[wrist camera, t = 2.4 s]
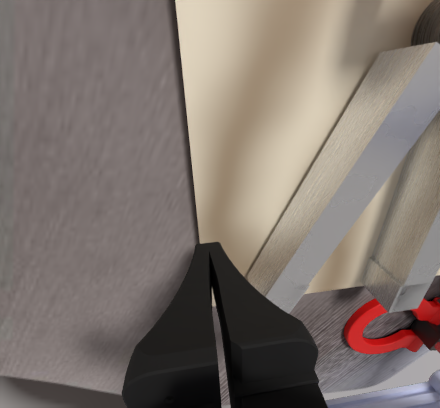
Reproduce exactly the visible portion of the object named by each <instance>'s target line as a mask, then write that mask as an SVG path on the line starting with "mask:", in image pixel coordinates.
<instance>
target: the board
mask: <svg viewBox="0 0 440 408" xmlns="http://www.w3.org/2000/svg"><path fill="white" fill-rule="evenodd" d="M432 1H434V0H175V2H176V12H177V22H178V32H179V42H180V52H181V62H182V71H183V81H184V91H185V101H186V111H187V121H188V131H189V141H190V150H191V160H192V170H193V180H194V190H195V200H196V210H197V220H198V229H199V239H200V244H202V243H211V242H219V243H221V246H222V248H223V250H224V251H225V253H226V254H227V256H228V257H229V259H230V260H231V262H232V263H233V264H234V266H235V267H236V268H237V269H238V271H239V272H240V273H241V274H242V275H243V276H244V278H245V279H246V280H247V281H248V278H247V276H248V274H249V272H250V271H251V269H252V267H253V266H254V264H255V262H256V261H257V259H258V257H259V256H260V254H261V252H262V250H263V249H264V247H265V245H266V244H267V242H268V240H269V239H270V237H271V235H272V234H273V232H274V230H275V229H276V227H277V225H278V223H279V222H280V220H281V218H282V217H283V215H284V213H285V212H286V210H287V208H288V207H289V205H290V203H291V202H292V200H293V198H294V196H295V195H296V193H297V191H298V190H299V188H300V186H301V185H302V183H303V181H304V180H305V178H306V176H307V175H308V173H309V171H310V170H311V168H312V166H313V164H314V163H315V161H316V159H317V158H318V156H319V154H320V153H321V151H322V149H323V148H324V146H325V144H326V143H327V141H328V139H329V137H330V136H331V134H332V132H333V131H334V129H335V127H336V126H337V124H338V122H339V121H340V119H341V117H342V116H343V114H344V112H345V111H346V109H347V107H348V105H349V104H350V102H351V100H352V99H353V97H354V95H355V94H356V92H357V90H358V89H359V87H360V85H361V84H362V82H363V80H364V78H365V77H366V75H367V73H368V72H369V70H370V68H371V67H372V65H373V63H374V62H375V60H376V58H377V57H378V55H379V53H380V52H384V51H390V50H395V49H400V48H406V47H411V38H412V34H413V30H414V27H415V25H416V23H417V21H418V19H419V17H420V16H421V14H422V13H423V11H424V10H425V9H426V7H427V6H428V5H429V4H430V3H431V2H432ZM407 154H408V153H407ZM407 154H406V155H405V157H404V158H403V159H402V161H401V162H400V163H399V165H398V166H397V167H396V169H395V170H394V171H393V173H392V174H391V175H390V177H389V178H388V179H387V181H386V182H385V183H384V185H383V186H382V187H381V189H380V190H379V191H378V193H377V194H376V195H375V197H374V198H373V199H372V201H371V202H370V203H369V205H368V206H367V207H366V209H365V210H364V211H363V213H362V214H361V215H360V217H359V218H358V219H357V221H356V222H355V223H354V225H353V226H352V227H351V229H350V230H349V231H348V233H347V234H346V235H345V237H344V238H343V239H342V241H341V242H340V243H339V245H338V246H337V247H336V249H335V250H334V251H333V253H332V254H331V255H330V257H329V258H328V259H327V261H326V262H325V263H324V265H323V266H322V267H321V269H320V270H319V271H318V273H317V274H316V275H315V277H314V278H313V279H312V281H311V282H310V283H309V285H310V287H309V288H308V289H307V291H306V292H305V293H304V294H308V293H315V292H322V291H329V290H336V289H344V288H351V287H358V286H364V285H363V284H362V283H361V279H362V276H363V273H364V270H365V268H366V265H367V262H368V259H369V257H372V254H373V251H374V248H375V245H376V243H377V240H378V237H379V234H380V231H381V228H382V225H383V222H384V220H385V217H386V214H387V211H388V208H389V205H390V202H391V199H392V197H393V194H394V191H395V188H396V185H397V182H398V179H399V176H400V174H401V171H402V168H403V165H404V162H405V159H406V156H407ZM437 275H440V268H439V270H438V272H437V274H436V276H437ZM248 282H249V281H248ZM214 306H216V303H215V299H214V294H213V289H212V307H214Z"/></svg>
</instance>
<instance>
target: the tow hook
mask: <svg viewBox="0 0 440 408" xmlns="http://www.w3.org/2000/svg"><path fill="white" fill-rule="evenodd" d="M411 310H412V311H413V315H414V316H415V317H416V318H417V319H416V320H415V321H414V323H413V324H412V325H411V329H410V330H400V331H399V332H397V333H395V334H393V335H391V336H388V337H385V338H380V339H367V338H364V337H362V334H363V330H364V328H365V327H366V326H367V325H368V323H369V322H370V321H372V320H373V319H374V318H376V317H378V316H379V315H381V314H383V313H386V312H387V311H386V310H385V309H384V307H383V306H382V305H381V304H380V303H379V302H378V301H377V300H376V299H373V300H371V301H370V302H368V303H366V304H364V305H363V306H362V307H361V308H359V309H358V310H357V311H356V312H355V313H354V314H353V315H352V316H351V317H350V318H349V320H348V322H347V323H346V325H345V328H344V336H345V339H346V341H347V342H348V344H349V346H350V347H351V348H352V349H354V350H356V351H358V352H360V353H366V354H380V353H386V352H390V351H393V350H396V349H399V348H407V349H408V350H410V351H412V352H417V351H418V350H419V348H420V347H421V346H422V345H423V344H425V345H426V346H427V348H428V349H429V350H437V351H438V352H439V353H440V298H438V297H435V298H434V299H433V300H432V301H427V300H426V299H425V298H423V300H422V301H421V303H420V305H419V307H418V309H411Z"/></svg>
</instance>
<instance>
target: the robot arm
mask: <svg viewBox="0 0 440 408" xmlns="http://www.w3.org/2000/svg"><path fill="white" fill-rule="evenodd" d="M212 289H213V294H214V299H215V303H216V308H217V312H218V317H219V321H220V327H221V333H222V340H223V348H224V356H225V364H226V372H227V380H228V388H229V396H230V405H231V408H440V370H437V371H436V372H434V373H433V374H432V375H431V376H430V378H429V381H428V382H423V383H417V384H412V385H407V386H402V387H396V388H391V389H385V390H380V391H375V392H369V393H364V394H358V395H353V396H347V397H342V398H337V399H332V400H326V401H325V400H324V397H323V395H322V393H321V391H320V388H319V386H318V383H319V380H318V377H317V375H316V373H315V371H314V368H315V364H316V361H317V357H318V348H317V346H316V344H315V342H314V340H313V338H312V336H311V335H310V333H309V332H308V330H307V329H306V327H305V326H304V324H303V323H302V321H300V320H298V319H297V318H295V317H293V316H292V315H290V314H288V313H287V312H285V311H283V310H282V309H281V308H279V307H278V306H276V305H275V304H274V303H272V302H271V301H270V300H269V299H267V298H266V297H265V296H264V295H262V294H261V293H260V292H259V291H258V290H257V289H255V288H254V287H253V286H252V285H251V284H250V283H249V282H248V281H247V280H246V279H245V278H244V276H243V275H242V274H241V273H240V272H239V271H238V269H237V268H236V267H235V266H234V264H233V263H232V262H231V260H230V259H229V257H228V256H227V254H226V253H225V251H224V250H223V248H222V246H221V243H219V242H211V243H202V244H197V245H196V246H195V252H194V256H193V259H192V262H191V265H190V267H189V270H188V272H187V274H186V277H185V279H184V281H183V283H182V285H181V287H180V289H179V291H178V292H177V294H176V296H175V297H174V299H173V301H172V302H171V304H170V305H169V307H168V308H167V310H166V311H165V312H164V314H163V315H162V316H161V318H160V319H159V320H158V321H157V323H156V324H155V325H154V327H153V328H152V329H151V330H150V331H149V332H148V333H147V335H146V336H145V337H144V338H143V339H142V340H141V341H140V342H139V343H138V344H137V346H136V347H135V349H134V352H133V354H132V357H131V360H130V362H129V365H128V368H127V372H126V376H125V380H124V385H123V390H122V397H123V400H124V402H125V404H126V406H127V408H221V395H220V383H219V370H218V359H217V350H216V341H215V333H214V325H213V317H212Z"/></svg>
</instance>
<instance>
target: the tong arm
mask: <svg viewBox="0 0 440 408" xmlns="http://www.w3.org/2000/svg"><path fill="white" fill-rule="evenodd" d="M439 110H440V44H439V43H437V42H433V43H427V44H422V45H416V46H411V47H406V48H400V49H395V50H390V51H384V52H380V53H379V55H378V57H377V58H376V60H375V62H374V63H373V65H372V67H371V68H370V70H369V72H368V73H367V75H366V77H365V78H364V80H363V82H362V84H361V85H360V87H359V89H358V90H357V92H356V94H355V95H354V97H353V99H352V100H351V102H350V104H349V105H348V107H347V109H346V111H345V112H344V114H343V116H342V117H341V119H340V121H339V122H338V124H337V126H336V127H335V129H334V131H333V132H332V134H331V136H330V137H329V139H328V141H327V143H326V144H325V146H324V148H323V149H322V151H321V153H320V154H319V156H318V158H317V159H316V161H315V163H314V164H313V166H312V168H311V170H310V171H309V173H308V175H307V176H306V178H305V180H304V181H303V183H302V185H301V186H300V188H299V190H298V191H297V193H296V195H295V196H294V198H293V200H292V202H291V203H290V205H289V207H288V208H287V210H286V212H285V213H284V215H283V217H282V218H281V220H280V222H279V223H278V225H277V227H276V229H275V230H274V232H273V234H272V235H271V237H270V239H269V240H268V242H267V244H266V245H265V247H264V249H263V250H262V252H261V254H260V256H259V257H258V259H257V261H256V262H255V264H254V266H253V267H252V269H251V271H250V272H249V274H248V276H247V278H248V281H249V283H250V284H251V285H252V286H253V287H254V288H255V289H257V290H258V291H259V292H260V293H261V294H262V295H264V296H265V297H266V298H267V299H269V300H270V301H271V302H272V303H274V304H275V305H276V306H278V307H279V308H281V309H282V310H283V311H285V312H287V313H288V314H289V313H290V312H291V310H292V309H293V308H294V306H295V305H296V304H297V302H298V301H299V300H300V298H301V297H302V296H303V294H304V293H305V292H306V291H307V289H308V288H309V287H310V285H309V283H310V282H311V281H312V279H313V278H314V277H315V275H316V274H317V273H318V271H319V270H320V269H321V267H322V266H323V265H324V263H325V262H326V261H327V259H328V258H329V257H330V255H331V254H332V253H333V251H334V250H335V249H336V247H337V246H338V245H339V243H340V242H341V241H342V239H343V238H344V237H345V235H346V234H347V233H348V231H349V230H350V229H351V227H352V226H353V225H354V223H355V222H356V221H357V219H358V218H359V217H360V215H361V214H362V213H363V211H364V210H365V209H366V207H367V206H368V205H369V203H370V202H371V201H372V199H373V198H374V197H375V195H376V194H377V193H378V191H379V190H380V189H381V187H382V186H383V185H384V183H385V182H386V181H387V179H388V178H389V177H390V175H391V174H392V173H393V171H394V170H395V169H396V167H397V166H398V165H399V163H400V162H401V161H402V159H403V158H404V157H405V155H406V154H407V153H408V151H409V150H410V149H411V147H412V146H413V145H414V143H415V142H416V141H417V139H418V138H419V137H420V135H421V134H422V133H423V131H424V130H425V129H426V127H427V126H428V125H429V123H430V122H431V121H432V119H433V118H434V117H435V115H436V114H437V113H438V111H439Z"/></svg>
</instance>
